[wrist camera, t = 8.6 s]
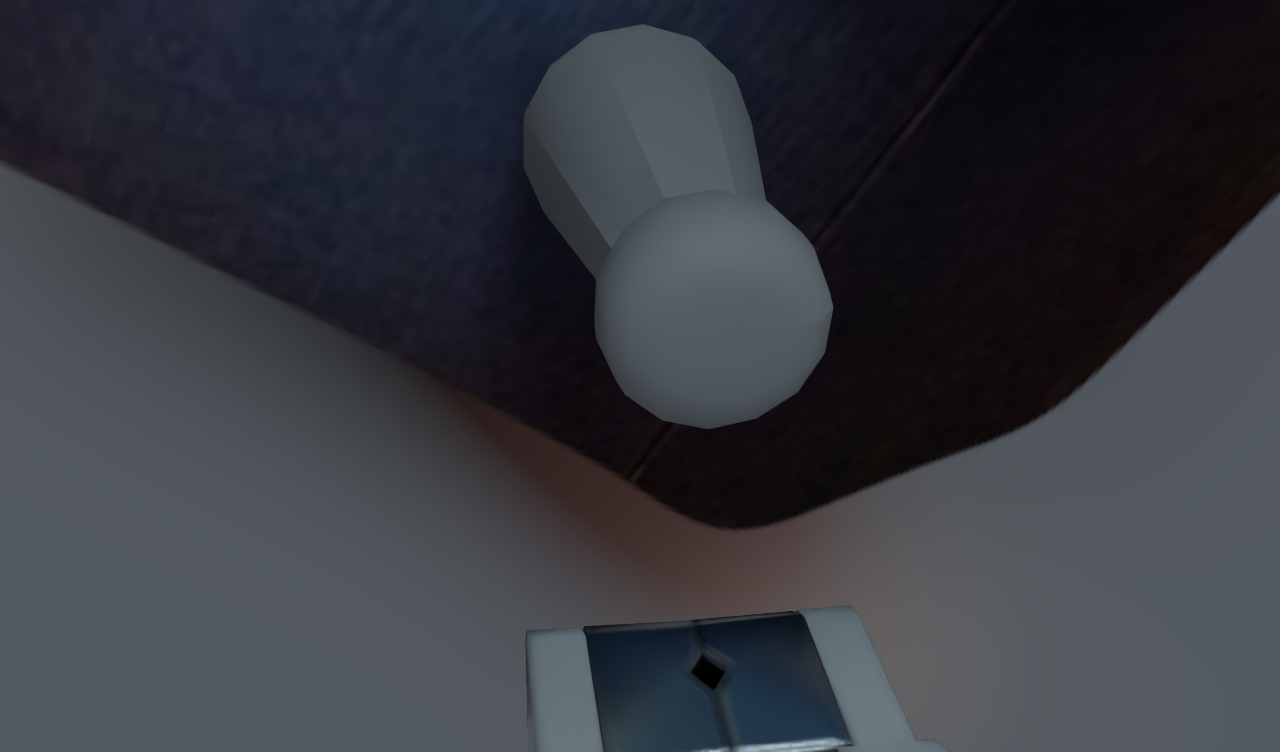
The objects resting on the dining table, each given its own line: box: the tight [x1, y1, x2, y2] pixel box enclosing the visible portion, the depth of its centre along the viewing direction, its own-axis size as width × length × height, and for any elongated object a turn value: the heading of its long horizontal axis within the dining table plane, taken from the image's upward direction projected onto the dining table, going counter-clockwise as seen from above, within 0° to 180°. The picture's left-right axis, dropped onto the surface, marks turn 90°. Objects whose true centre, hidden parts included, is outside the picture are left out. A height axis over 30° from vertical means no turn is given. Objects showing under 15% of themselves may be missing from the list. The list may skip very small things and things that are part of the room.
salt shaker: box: [524, 24, 833, 429], centre depth 25 cm, size 6×6×13 cm
